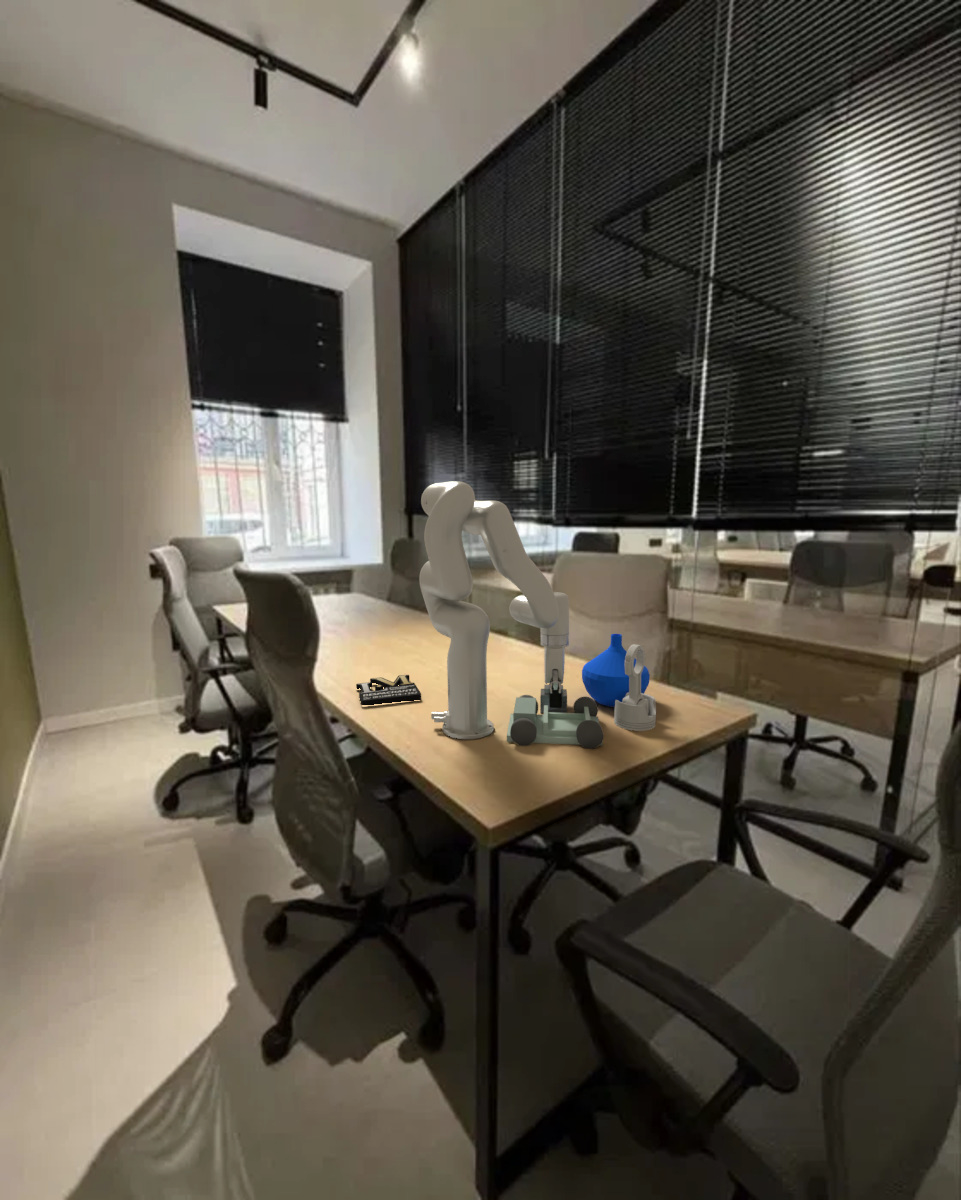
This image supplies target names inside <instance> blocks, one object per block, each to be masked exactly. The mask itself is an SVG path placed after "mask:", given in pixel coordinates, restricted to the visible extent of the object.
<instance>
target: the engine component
mask: <svg viewBox="0 0 961 1200" xmlns="http://www.w3.org/2000/svg"><path fill="white" fill-rule="evenodd" d="M626 651H627V653H626V657H625V674H626V675H628V676H629V692H628V693H627V694H626V697H624V698H623V700H622V702H619V701H618V700H615V707H614V715H613V716H614V720H613V721H614V724H615V725H616V726H617V727H619V728H621V729H623V728H624V730H627V729H628V731H632V730H634V731H633V732H645V730H647V731H650V729H651V730H653V729H654V728H656V720H657V719H656V717H657V714H656V713H657V707H656V702H657V701H656V700H657V699H656V698H655V697H654V696H653V695H649V694H647V693H644V694H643V693H641V673H642V671H643V668H644V666H645V664H646V651H645V648H644V647H643V645H641V644H634V643H633V644H631V645H630V646H629V647H628V649H627V650H626ZM634 658H635V659H636V664H635V667H634ZM652 728H653V729H652Z"/></svg>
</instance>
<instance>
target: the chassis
mask: <svg viewBox="0 0 961 1200" xmlns="http://www.w3.org/2000/svg"><path fill="white" fill-rule="evenodd" d="M598 711H599V710H598V704H597V701H595V700H594V699H593V698H592V697H591V696H581V697H579V698H577V699H576V700H575V701H574V703H573V712H567V713H557V712H548V705H544V713H543V714H538V712H539V703H538V700H537V697H534V696H532V695H531V694H523V695H520V696H516V697H515V703H514V708H513V713H510V716H509V722H508V727H507V733H506V742H508V743H511V742H512V743H515V744H516V745H518V746H521V747H526V746H529V745H531V744H558V745H559V744H560V745H581V747H583V748H584V749H596V748H598V747H599V746H601V747H603V746H604V744H603V742H604V736H605V735H604V730H603V728H602V727H603V726H601V725H600V722H599V716H598V713H599V712H598Z"/></svg>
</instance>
